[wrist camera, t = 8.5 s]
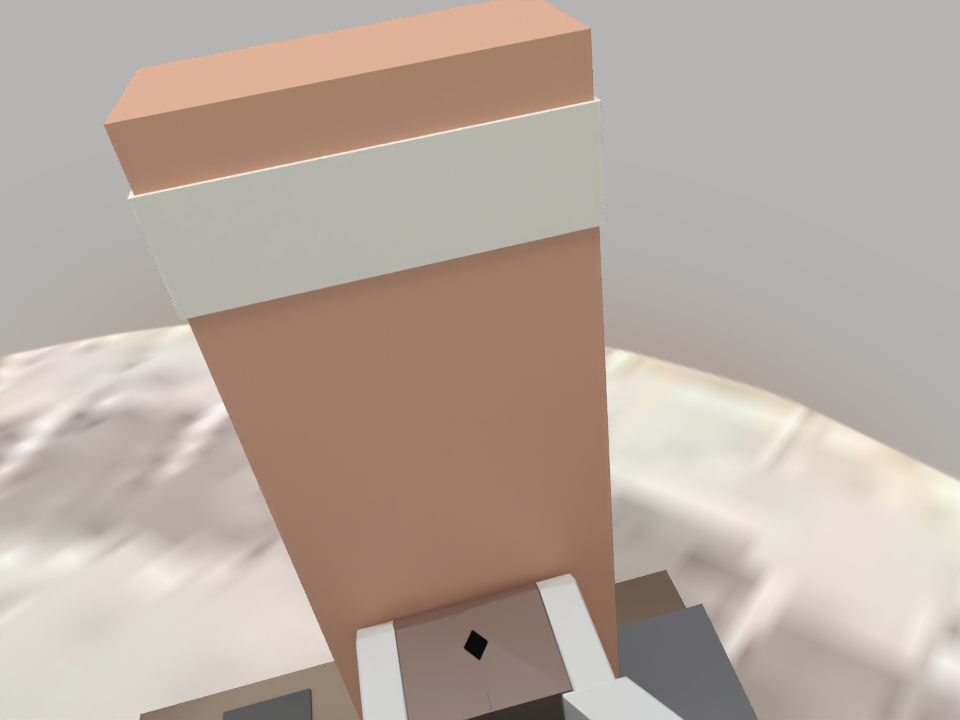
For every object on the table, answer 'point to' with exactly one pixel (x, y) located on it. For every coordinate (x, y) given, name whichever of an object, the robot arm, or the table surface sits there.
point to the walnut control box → (324, 697)
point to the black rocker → (683, 666)
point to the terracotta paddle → (397, 298)
